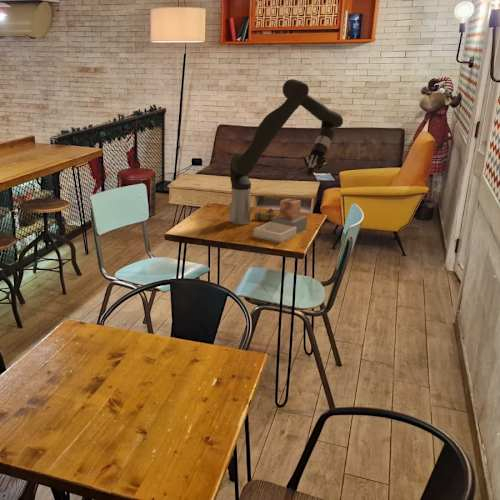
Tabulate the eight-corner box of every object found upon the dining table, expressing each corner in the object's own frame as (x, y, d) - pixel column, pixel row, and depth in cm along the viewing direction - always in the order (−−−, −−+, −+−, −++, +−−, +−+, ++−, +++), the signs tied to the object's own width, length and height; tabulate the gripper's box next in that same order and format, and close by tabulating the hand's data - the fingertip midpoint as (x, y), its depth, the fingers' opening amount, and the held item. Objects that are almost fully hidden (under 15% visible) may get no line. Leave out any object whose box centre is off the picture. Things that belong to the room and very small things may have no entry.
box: (253, 237, 213) (253, 228, 212) (269, 229, 224) (270, 221, 223) (280, 243, 206) (281, 234, 204) (296, 235, 217) (296, 227, 216)
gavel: (263, 204, 256) (281, 206, 254) (262, 213, 257) (280, 214, 255) (254, 212, 236) (274, 214, 234) (254, 221, 237) (273, 223, 235)
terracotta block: (279, 217, 222) (280, 200, 219) (286, 214, 228) (287, 198, 225) (292, 220, 219) (293, 203, 216) (299, 216, 224) (300, 200, 221)
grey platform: (271, 230, 224) (272, 217, 221) (284, 224, 233) (284, 212, 231) (294, 235, 217) (294, 222, 215) (306, 228, 227) (307, 216, 225)
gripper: (307, 141, 238) (294, 169, 233) (331, 143, 232) (318, 172, 226) (311, 150, 244) (299, 178, 239) (335, 153, 238) (322, 181, 232)
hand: (308, 175), depth 233 cm, fingers closed
